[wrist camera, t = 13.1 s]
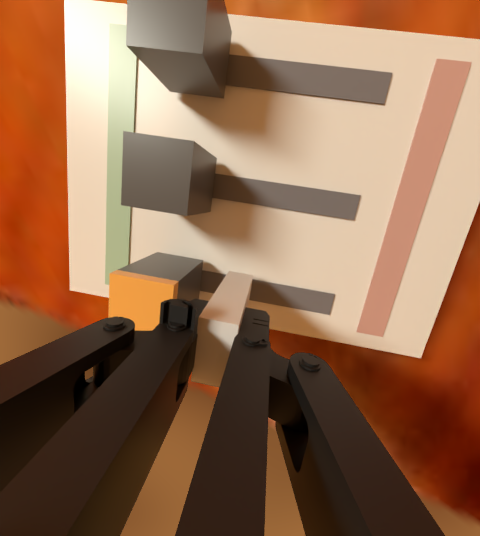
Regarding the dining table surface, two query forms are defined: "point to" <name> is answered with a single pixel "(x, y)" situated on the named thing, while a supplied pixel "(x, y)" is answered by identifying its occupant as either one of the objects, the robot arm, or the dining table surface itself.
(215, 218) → the panel
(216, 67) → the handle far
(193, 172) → the handle middle
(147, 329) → the handle
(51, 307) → the dining table surface
